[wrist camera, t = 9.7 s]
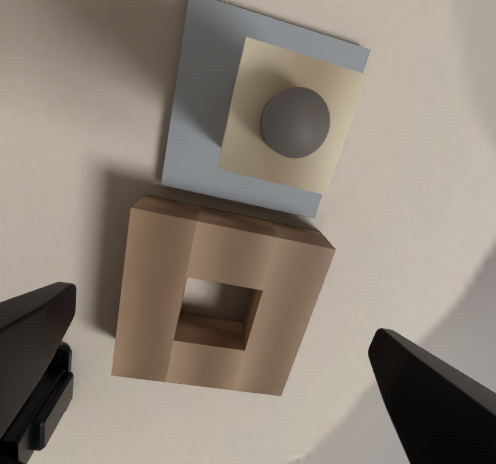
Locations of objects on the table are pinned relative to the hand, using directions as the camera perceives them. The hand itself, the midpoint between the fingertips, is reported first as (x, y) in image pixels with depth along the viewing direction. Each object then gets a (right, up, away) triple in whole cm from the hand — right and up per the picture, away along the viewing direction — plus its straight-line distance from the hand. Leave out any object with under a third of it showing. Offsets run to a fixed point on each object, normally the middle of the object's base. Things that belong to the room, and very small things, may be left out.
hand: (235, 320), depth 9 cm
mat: (+1, +9, +9) cm, 13 cm away
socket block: (-2, -2, +13) cm, 13 cm away
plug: (+1, +9, +9) cm, 12 cm away
